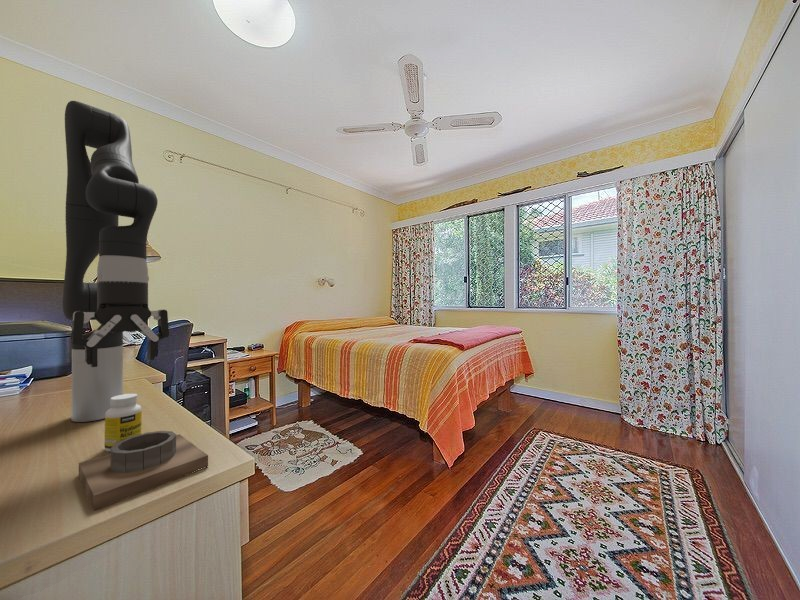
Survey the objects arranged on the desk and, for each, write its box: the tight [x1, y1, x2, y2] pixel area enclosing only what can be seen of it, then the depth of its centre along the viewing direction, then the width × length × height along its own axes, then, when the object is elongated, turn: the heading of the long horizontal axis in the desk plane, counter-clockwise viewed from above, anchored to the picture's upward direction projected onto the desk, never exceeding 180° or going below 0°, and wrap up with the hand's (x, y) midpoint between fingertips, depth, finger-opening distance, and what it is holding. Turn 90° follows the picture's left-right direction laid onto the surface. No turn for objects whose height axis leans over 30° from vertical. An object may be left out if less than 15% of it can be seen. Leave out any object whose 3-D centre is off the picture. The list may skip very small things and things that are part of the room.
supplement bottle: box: [104, 393, 143, 452], centre depth 61 cm, size 5×5×10 cm
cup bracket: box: [78, 430, 209, 511], centre depth 52 cm, size 14×14×5 cm
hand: (123, 363), depth 61 cm, fingers open, 8 cm apart
